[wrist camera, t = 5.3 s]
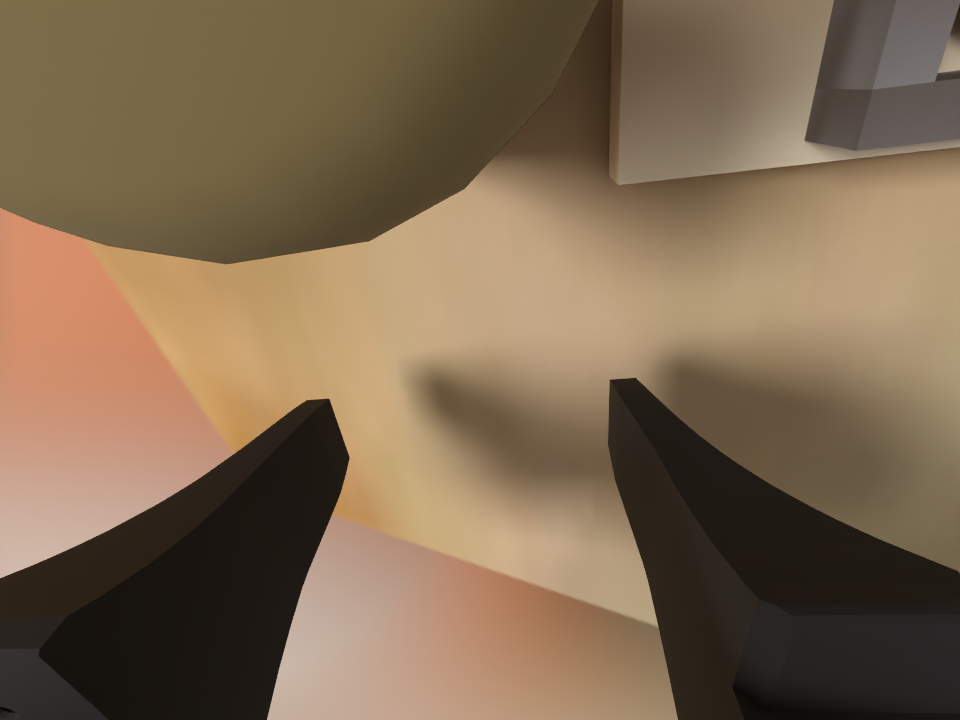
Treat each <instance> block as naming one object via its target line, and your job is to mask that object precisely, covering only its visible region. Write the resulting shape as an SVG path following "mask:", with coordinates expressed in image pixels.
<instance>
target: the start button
mask: <svg viewBox="0 0 960 720" xmlns="http://www.w3.org/2000/svg"><path fill="white" fill-rule="evenodd" d="M956 15H957V17H958V19H959V21H960V5H959V8H958V11H957V14H956Z"/></svg>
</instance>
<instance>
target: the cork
mask: <svg viewBox="0 0 960 720" xmlns="http://www.w3.org/2000/svg"><path fill="white" fill-rule="evenodd" d="M598 1H599V0H0V208H2V209H4V210H7V211H9V212H11V213H14V214H16V215H19V216H21V217H23V218H25V219H28V220H30V221H32V222H35V223H37V224H41V225H44V226H47V227H50V228H53V229H56V230H59V231H62V232H66V233H69V234H72V235H75V236H78V237H81V238H84V239H88V240H91V241H94V242H97V243H100V244H103V245H106V246H112V247H118V248H125V249H131V250H137V251H144V252H150V253H157V254H163V255H170V256H176V257H183V258H189V259H195V260H202V261H208V262H215V263H221V264H232V263H238V262H244V261H250V260H256V259H263V258H269V257H275V256H281V255H287V254H294V253H300V252H306V251H312V250H318V249H325V248H331V247H337V246H343V245H349V244H355V243H361V242H367V241H370V240H372V239H374V238H376V237H378V236H379V235H381V234H383V233H385V232H387V231H389V230H390V229H392V228H394V227H396V226H398V225H399V224H401V223H403V222H405V221H407V220H409V219H410V218H412V217H414V216H416V215H418V214H420V213H421V212H423V211H425V210H427V209H429V208H430V207H432V206H434V205H436V204H438V203H440V202H441V201H443V200H445V199H447V198H449V197H450V196H452V195H454V194H456V193H458V192H460V191H461V190H463V189H465V188H466V187H467V186H468V185H469V183H470V182H471V181H472V180H473V179H474V178H475V177H476V176H477V175H478V174H479V173H480V171H481V170H482V169H483V168H484V167H485V166H486V165H487V164H488V163H489V162H490V160H491V159H492V158H493V157H494V156H495V155H496V154H497V153H498V152H499V151H500V150H501V148H502V147H503V146H504V145H505V144H506V143H507V142H508V141H509V140H510V139H511V138H512V136H513V135H514V134H515V133H516V132H517V131H518V130H519V129H520V128H521V127H522V126H523V124H524V123H525V122H526V121H527V120H528V119H529V118H530V117H531V116H532V115H533V114H534V112H535V111H536V110H537V109H538V108H539V107H540V106H541V105H542V104H543V103H544V102H545V100H546V99H547V98H548V97H549V96H550V95H551V94H552V93H553V92H554V90H555V88H556V86H557V84H558V82H559V80H560V77H561V75H562V73H563V71H564V69H565V67H566V65H567V63H568V61H569V59H570V57H571V55H572V53H573V51H574V49H575V47H576V45H577V43H578V41H579V39H580V37H581V35H582V33H583V31H584V29H585V27H586V25H587V23H588V21H589V19H590V17H591V15H592V13H593V11H594V9H595V7H596V5H597V3H598Z"/></svg>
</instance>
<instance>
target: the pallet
mask: <svg viewBox="0 0 960 720" xmlns="http://www.w3.org/2000/svg"><path fill="white" fill-rule="evenodd" d="M959 5H960V0H612V33H611V86H610V139H609V177H610V178H611V179H612V180H613V181H614V182H615V183H616V184H617V185H625V184H634V183H643V182H652V181H660V180H669V179H678V178H687V177H696V176H705V175H714V174H723V173H732V172H741V171H750V170H759V169H768V168H777V167H786V166H795V165H804V164H812V163H821V162H830V161H839V160H848V159H857V158H866V157H875V156H884V155H893V154H902V153H911V152H920V151H929V150H938V149H947V148H955V147H960V21H959V19H958V17H957V15H956V14H957V11H958V8H959Z"/></svg>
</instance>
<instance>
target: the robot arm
mask: <svg viewBox="0 0 960 720" xmlns="http://www.w3.org/2000/svg"><path fill="white" fill-rule="evenodd" d="M608 446H609V451H610V456H611V461H612V466H613V471H614V476H615V480H616V483H617V486H618V490H619V493H620V496H621V499H622V502H623V505H624V508H625V511H626V514H627V517H628V520H629V523H630V526H631V528H632V531H633V534H634V537H635V540H636V543H637V546H638V549H639V552H640V555H641V558H642V561H643V565H644V568H645V572H646V575H647V578H648V582H649V587H650V591H651V595H652V600H653V604H654V609H655V613H656V617H657V622H658V626H659V631H660V635H661V640H662V645H663V649H664V654H665V658H666V663H667V667H668V673H669V677H670V682H671V687H672V692H673V697H674V702H675V706H676V712H677V717H678V720H960V573H959V572H958V571H956V570H954V569H951V568H949V567H946V566H944V565H941V564H939V563H936V562H934V561H931V560H929V559H926V558H924V557H921V556H919V555H916V554H914V553H911V552H909V551H906V550H904V549H901V548H899V547H897V546H894V545H892V544H889V543H887V542H884V541H882V540H880V539H877V538H875V537H873V536H871V535H868V534H866V533H864V532H862V531H860V530H858V529H855V528H853V527H851V526H849V525H847V524H845V523H843V522H840V521H838V520H836V519H834V518H832V517H830V516H828V515H826V514H824V513H822V512H820V511H818V510H816V509H814V508H812V507H810V506H808V505H807V504H805V503H803V502H801V501H799V500H797V499H796V498H794V497H792V496H790V495H788V494H786V493H785V492H783V491H781V490H779V489H777V488H776V487H774V486H772V485H771V484H769V483H767V482H766V481H764V480H762V479H761V478H759V477H758V476H756V475H754V474H753V473H751V472H750V471H748V470H747V469H745V468H744V467H742V466H741V465H739V464H737V463H736V462H734V461H733V460H731V459H730V458H729V457H727V456H726V455H724V454H723V453H721V452H720V451H719V450H717V449H716V448H715V447H714V446H712V445H711V444H710V443H708V442H707V441H706V440H704V439H703V438H702V437H700V436H699V435H698V434H697V433H695V432H694V431H693V430H692V429H691V428H690V427H688V426H687V425H686V424H685V423H684V422H683V421H681V420H680V419H679V418H678V417H677V416H676V415H674V414H673V413H672V412H671V411H670V410H669V409H668V408H667V407H666V406H665V405H664V404H662V403H661V402H660V401H659V400H658V399H657V398H656V397H655V396H654V395H653V394H652V393H651V392H650V391H649V390H648V389H647V388H646V387H645V386H644V385H643V384H641V383H640V382H639V381H638V380H637V379H636V378H629V379H614V380H610V393H609V433H608ZM348 462H349V455H348V452H347V449H346V446H345V443H344V440H343V437H342V434H341V432H340V429H339V426H338V423H337V420H336V417H335V414H334V411H333V408H332V405H331V403H330V400H329V399H318V400H307V401H305V402H304V403H302V404H301V405H299V406H298V407H296V408H295V409H293V410H292V411H291V412H289V413H288V414H287V415H285V416H284V417H283V418H281V419H280V420H279V421H277V422H276V423H275V424H273V425H272V426H271V427H270V428H268V429H267V430H266V431H264V432H263V433H262V434H260V435H259V436H258V437H256V438H255V439H254V440H252V441H251V442H250V443H249V444H247V445H246V446H245V447H243V448H242V449H241V450H239V451H238V452H236V453H235V454H234V455H232V456H231V457H229V458H228V459H227V460H225V461H224V462H222V463H221V464H220V465H218V466H217V467H215V468H214V469H212V470H211V471H210V472H208V473H207V474H205V475H204V476H202V477H201V478H199V479H198V480H196V481H195V482H193V483H192V484H190V485H188V486H187V487H185V488H184V489H182V490H180V491H179V492H177V493H175V494H174V495H172V496H171V497H169V498H167V499H166V500H164V501H162V502H160V503H159V504H157V505H155V506H154V507H152V508H150V509H148V510H146V511H144V512H143V513H140V514H139V515H137V516H135V517H133V518H131V519H129V520H128V521H126V522H124V523H122V524H120V525H118V526H116V527H114V528H112V529H111V530H109V531H107V532H105V533H103V534H101V535H98V536H96V537H94V538H92V539H90V540H88V541H86V542H84V543H82V544H80V545H78V546H75V547H73V548H71V549H69V550H67V551H65V552H62V553H60V554H58V555H56V556H53V557H51V558H49V559H47V560H44V561H42V562H39V563H37V564H35V565H33V566H30V567H27V568H25V569H23V570H20V571H17V572H15V573H13V574H10V575H7V576H5V577H3V578H0V720H267V717H268V713H269V708H270V704H271V700H272V696H273V691H274V688H275V683H276V679H277V675H278V671H279V667H280V663H281V660H282V656H283V652H284V649H285V645H286V641H287V637H288V634H289V630H290V626H291V623H292V620H293V616H294V613H295V610H296V606H297V603H298V599H299V597H300V593H301V590H302V587H303V584H304V581H305V578H306V576H307V573H308V570H309V568H310V566H311V563H312V561H313V558H314V556H315V554H316V551H317V549H318V547H319V544H320V542H321V539H322V537H323V535H324V532H325V530H326V527H327V525H328V523H329V520H330V518H331V515H332V513H333V510H334V508H335V506H336V503H337V501H338V498H339V495H340V493H341V490H342V486H343V482H344V479H345V475H346V471H347V466H348Z"/></svg>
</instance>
